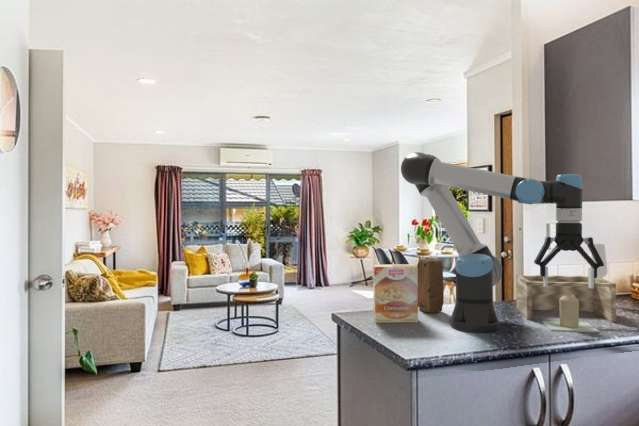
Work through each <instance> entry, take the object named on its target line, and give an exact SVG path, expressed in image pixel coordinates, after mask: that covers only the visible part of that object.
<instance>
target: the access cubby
mask: <svg viewBox="0 0 639 426" xmlns="http://www.w3.org/2000/svg"><path fill="white" fill-rule="evenodd" d="M515 281H516V282H515V283H516V286H515V287H516V290H515V291H516V295H515V296H516V309H517V311H518V312H519V313H520V314H521V315H522V316H523V317H524V318H525V320H531V321H532V319H533V317H532V316H533V315H532V313H533V310H535V311H538V310H539V311H557V312H558V311H559V312H560V305H559V299H560V298H561V297H562V296H564V295H565V294H568V295H570V296H571V295H574V296H575V297H576V298H577V299H578V300H579V312H591V313H592V312H594V313H595V314H597V316H600V317H601V318H603V319H604V320H606V321H608V322H610V323H616V322H617V299H616V298H617V291H616V290H617V289H616V288H617V287H616V284H617V283H614V282H613V281H610V280H607V279H605V278H600V277H597V278H594V289H591V288H589V287H588V275H551V274H550V275H549V274H548V287H544V286H543V276H541V275H540V274H539V275H538V274H516V276H515Z"/></svg>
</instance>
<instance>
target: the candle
mask: <svg viewBox="0 0 639 426" xmlns="http://www.w3.org/2000/svg"><path fill="white" fill-rule="evenodd" d="M559 305H560V311H559V321H560V325H561V326H564V327H571V328H575V327H579V322H580V319H579V316H580V314H579V313H580V311H579V300H578V299H577V298H576V297H575V296H574V295H571V296H570V295H568V294H565V295H564V296H562V297H561V298H560V299H559Z"/></svg>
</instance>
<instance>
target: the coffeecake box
mask: <svg viewBox="0 0 639 426" xmlns="http://www.w3.org/2000/svg"><path fill="white" fill-rule="evenodd" d="M372 269H373V271H372V272H373V274H372V277H373V280H372V281H373V283H372V285H373V289H372V290H373V291H372V292H373V293H372V294H373V309H372V310H373V320H374V323H376V324H380V323H381V324H385V323H387V324H388V323H391V324H392V323H396V324H397V323H404V324H405V323H419V307H418V267H417V264H414V263H413V264H411V263H409V264H405V263H401V264H400V263H399V264H389V263H388V264H385V263H384V264H381V263H380V264H372Z"/></svg>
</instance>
